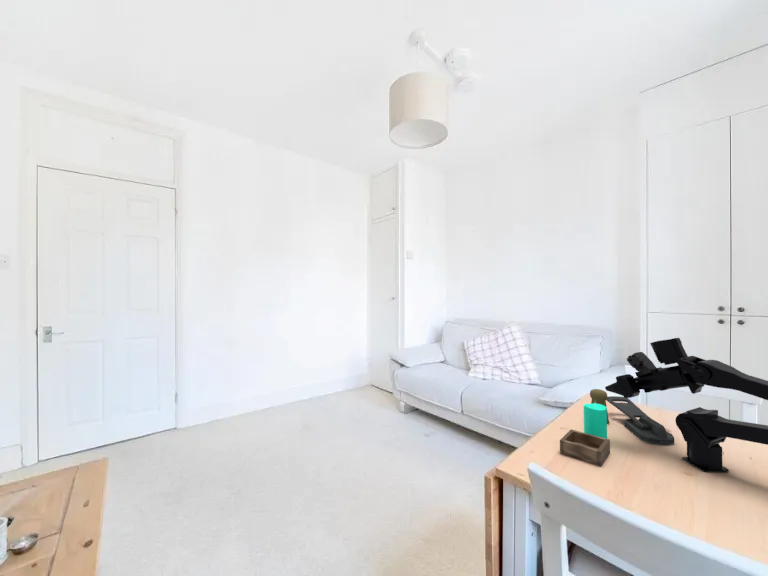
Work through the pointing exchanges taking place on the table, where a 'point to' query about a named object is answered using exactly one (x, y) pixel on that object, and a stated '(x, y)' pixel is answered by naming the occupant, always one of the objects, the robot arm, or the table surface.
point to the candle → (595, 420)
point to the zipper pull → (642, 423)
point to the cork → (599, 398)
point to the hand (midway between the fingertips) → (614, 386)
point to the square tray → (585, 447)
